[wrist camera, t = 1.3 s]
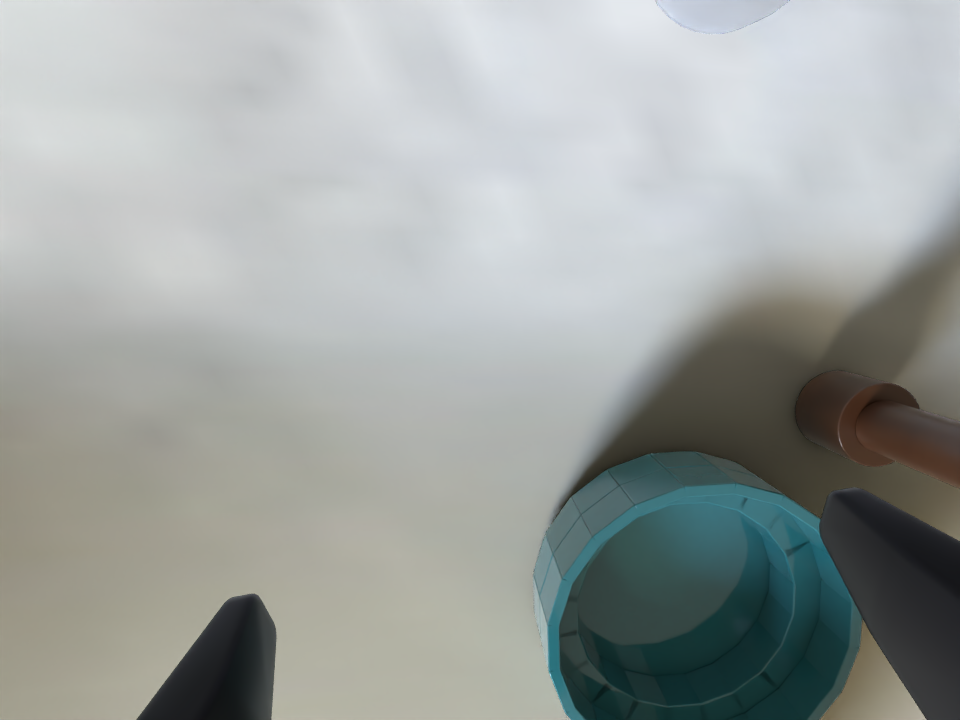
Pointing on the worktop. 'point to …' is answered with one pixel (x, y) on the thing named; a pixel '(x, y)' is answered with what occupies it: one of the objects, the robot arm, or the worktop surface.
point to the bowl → (691, 598)
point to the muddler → (878, 425)
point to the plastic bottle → (718, 13)
